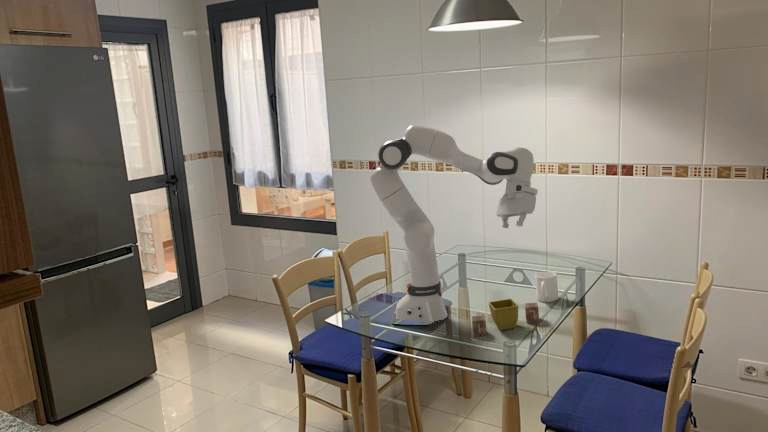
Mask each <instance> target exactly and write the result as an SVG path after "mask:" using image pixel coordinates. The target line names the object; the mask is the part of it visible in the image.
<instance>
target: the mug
mask: <svg viewBox="0 0 768 432" xmlns="http://www.w3.org/2000/svg"><path fill="white" fill-rule="evenodd" d="M534 278H535V279H534V280H535V281H534V282H535V291H536V298H537V299H536V300H538V302H541V303H553V301H554V302H556V301H558V299H559V289H558V275H557V273H556V272H555V271H554V272H553V271H541V272H537V273H535V274H534ZM555 300H556V301H555Z"/></svg>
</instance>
